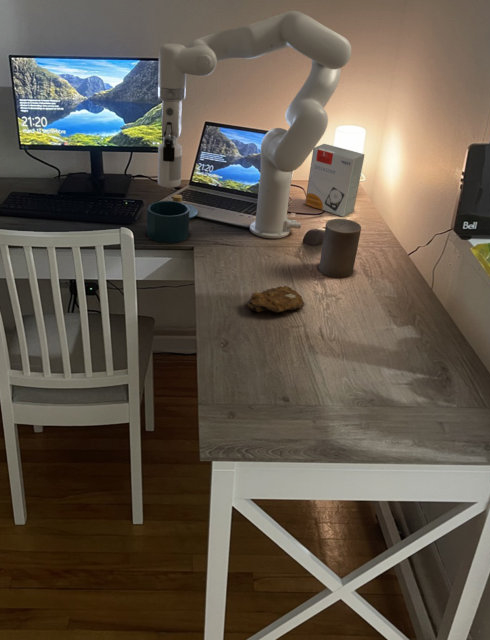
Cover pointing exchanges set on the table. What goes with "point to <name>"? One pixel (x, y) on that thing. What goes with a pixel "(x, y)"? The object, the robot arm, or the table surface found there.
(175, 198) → the tin lid
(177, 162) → the spray bottle
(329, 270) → the pillar candle
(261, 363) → the table surface
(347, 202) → the hard drive box
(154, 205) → the tin
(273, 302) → the decorative rock
